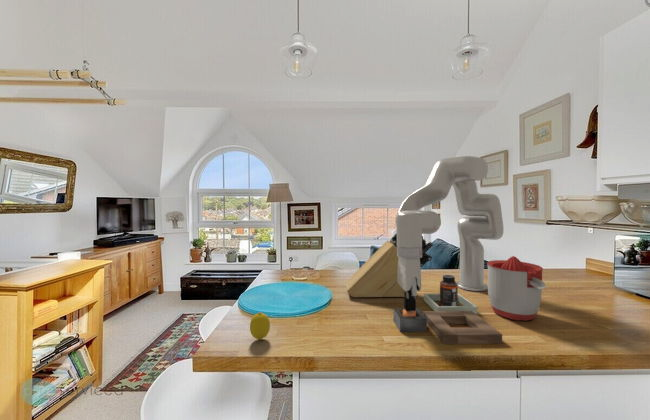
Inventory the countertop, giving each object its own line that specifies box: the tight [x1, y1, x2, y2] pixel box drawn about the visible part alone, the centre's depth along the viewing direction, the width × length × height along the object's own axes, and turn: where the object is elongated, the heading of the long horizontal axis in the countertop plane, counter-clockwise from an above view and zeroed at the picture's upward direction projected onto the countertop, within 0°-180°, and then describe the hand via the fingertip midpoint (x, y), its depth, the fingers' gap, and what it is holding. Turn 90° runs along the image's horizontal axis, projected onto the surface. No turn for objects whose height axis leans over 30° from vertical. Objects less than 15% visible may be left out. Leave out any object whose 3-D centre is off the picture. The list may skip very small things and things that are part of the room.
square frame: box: [422, 310, 503, 345], centre depth 82 cm, size 16×16×2 cm
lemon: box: [249, 311, 271, 341], centre depth 78 cm, size 6×6×8 cm
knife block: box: [345, 232, 434, 298], centre depth 114 cm, size 11×35×31 cm, turn 89°
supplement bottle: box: [439, 274, 459, 306], centre depth 100 cm, size 6×6×11 cm
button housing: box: [392, 307, 428, 333], centre depth 85 cm, size 8×8×4 cm
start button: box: [403, 309, 416, 317], centre depth 85 cm, size 4×4×4 cm
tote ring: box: [423, 292, 478, 315], centre depth 100 cm, size 14×14×2 cm
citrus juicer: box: [486, 255, 547, 321], centre depth 92 cm, size 16×17×20 cm
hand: (409, 309), depth 85 cm, fingers closed
